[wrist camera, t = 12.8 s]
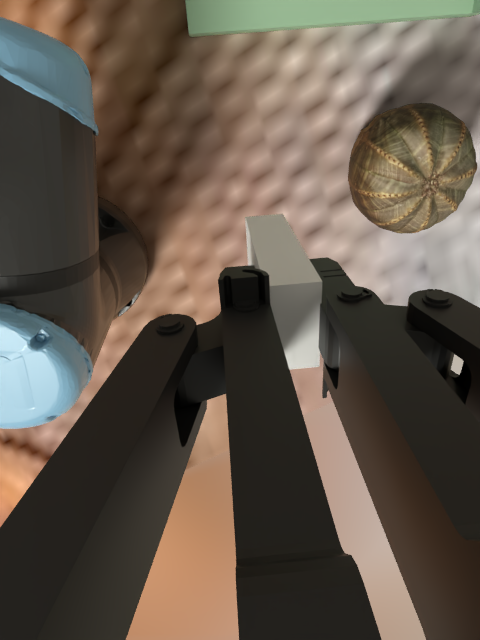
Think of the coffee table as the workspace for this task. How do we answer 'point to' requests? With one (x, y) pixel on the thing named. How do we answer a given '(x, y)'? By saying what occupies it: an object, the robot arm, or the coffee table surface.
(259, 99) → the coffee table surface
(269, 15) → the mat
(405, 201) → the ribbed round cactus
